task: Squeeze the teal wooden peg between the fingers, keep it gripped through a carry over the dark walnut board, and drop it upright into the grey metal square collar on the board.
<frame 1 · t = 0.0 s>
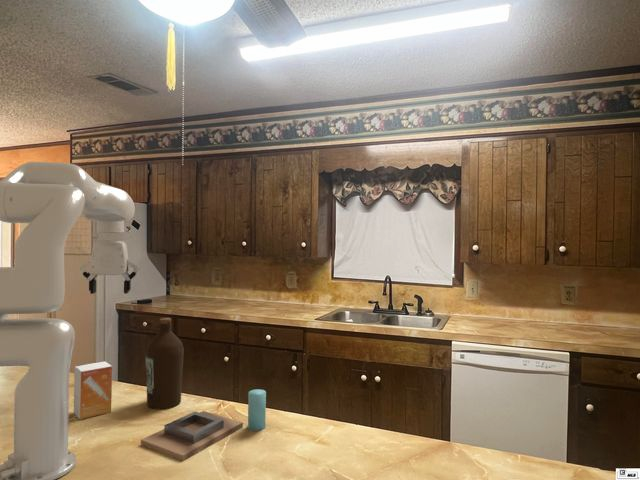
hand: (109, 293, 134), 31 cm above the countertop, tool pointing down, fingers open, 9 cm apart
olive oil: (163, 403, 126), on the countertop
teal peg: (256, 426, 112), on the countertop
small box: (92, 413, 119), on the countertop
collar board: (194, 435, 106), on the countertop
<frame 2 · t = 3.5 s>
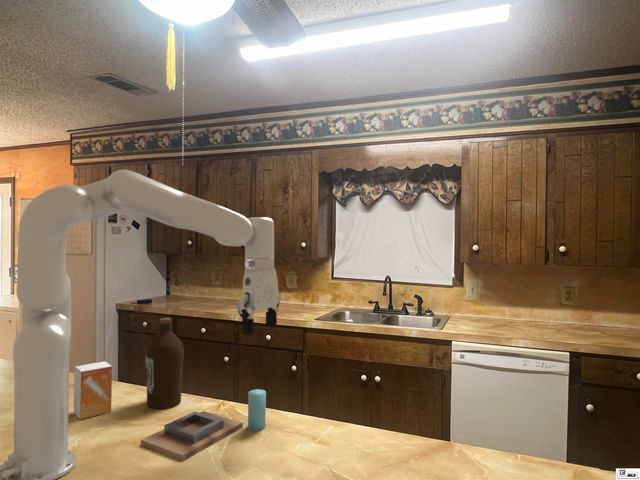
hand: (260, 330, 112), 25 cm above the countertop, tool pointing down, fingers open, 9 cm apart
nothing on the countertop moved.
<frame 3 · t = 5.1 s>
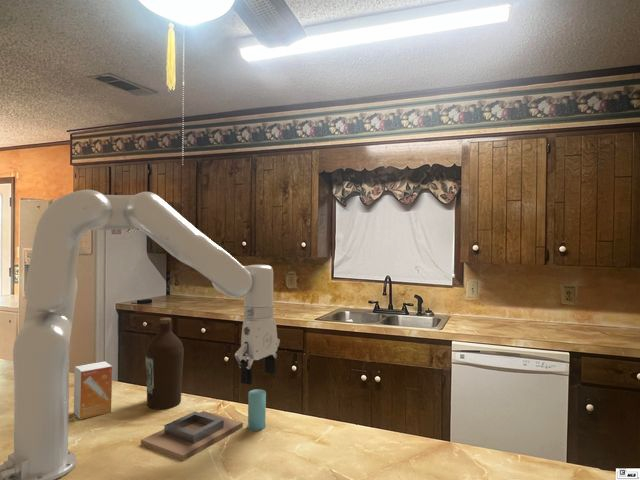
hand: (258, 377, 112), 13 cm above the countertop, tool pointing down, fingers open, 9 cm apart
nothing on the countertop moved.
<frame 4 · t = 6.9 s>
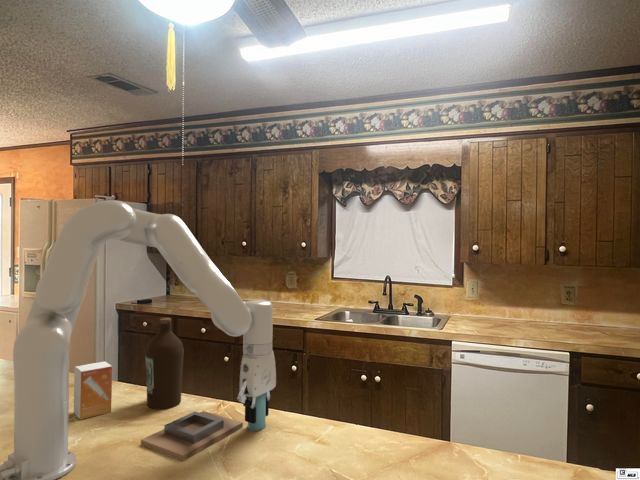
hand: (256, 417, 112), 2 cm above the countertop, tool pointing down, fingers closed on teal peg, 4 cm apart
teal peg: (256, 426, 112), on the countertop, touching gripper
everything else where it was.
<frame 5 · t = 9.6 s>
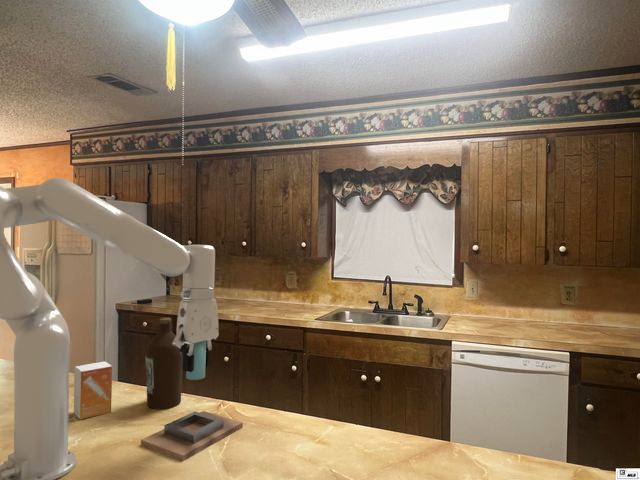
hand: (195, 367, 106), 17 cm above the countertop, tool pointing down, fingers closed on teal peg, 4 cm apart
teal peg: (195, 377, 106), point 15 cm above the countertop, touching gripper
everything else where it was.
when the fingers open (7 cm above the countertop, at t = 12.5 s): teal peg drops 3 cm, resting on collar board.
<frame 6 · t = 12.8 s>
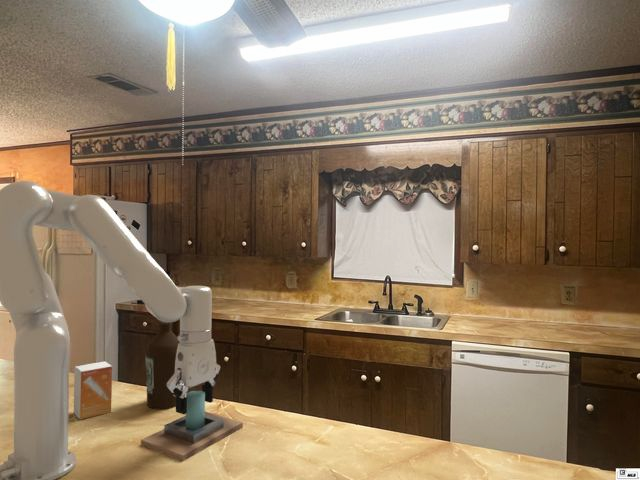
hand: (194, 406, 106), 7 cm above the countertop, tool pointing down, fingers open, 8 cm apart
teal peg: (194, 430, 106), point 1 cm above the countertop, touching collar board
everything else where it was.
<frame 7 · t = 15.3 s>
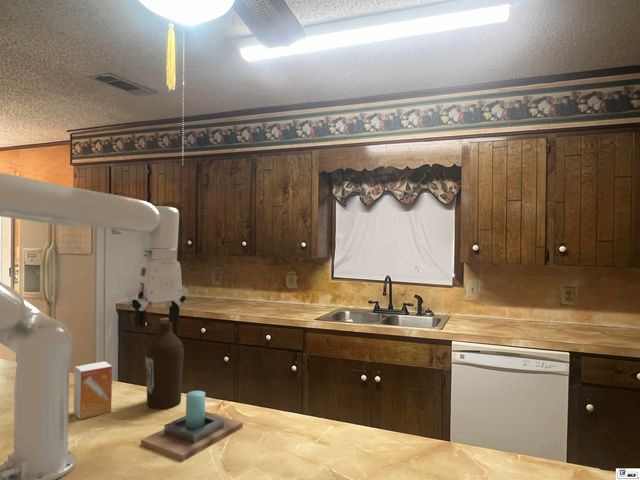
hand: (157, 324, 107), 27 cm above the countertop, tool pointing down, fingers open, 9 cm apart
nothing on the countertop moved.
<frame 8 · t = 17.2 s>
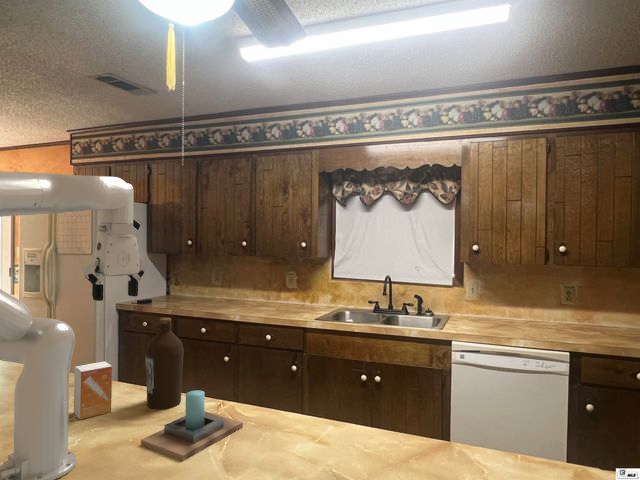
hand: (116, 298, 109), 33 cm above the countertop, tool pointing down, fingers open, 9 cm apart
nothing on the countertop moved.
at the end: teal peg 0.2 cm off-centre on the collar board, point 1.3 cm above the collar board's base; teal peg tilted 2°; the gripper is holding nothing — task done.
